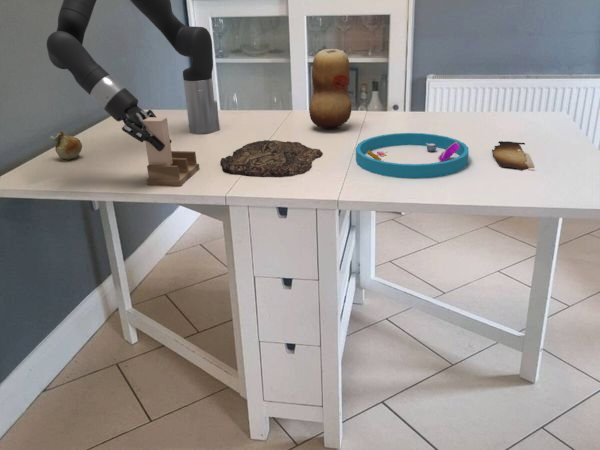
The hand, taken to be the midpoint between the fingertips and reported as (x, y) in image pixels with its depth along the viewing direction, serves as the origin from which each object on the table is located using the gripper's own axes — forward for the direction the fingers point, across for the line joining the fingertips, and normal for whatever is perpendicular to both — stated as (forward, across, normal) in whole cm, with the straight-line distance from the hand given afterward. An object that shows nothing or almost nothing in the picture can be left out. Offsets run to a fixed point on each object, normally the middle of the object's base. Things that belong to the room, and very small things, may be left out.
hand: (165, 146), depth 150 cm
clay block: (+2, 0, +5) cm, 5 cm away
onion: (-20, +16, +34) cm, 43 cm away
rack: (+6, +3, +7) cm, 10 cm away
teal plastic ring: (+50, +23, -36) cm, 66 cm away
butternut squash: (+30, +54, -17) cm, 64 cm away
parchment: (+68, +29, -55) cm, 92 cm away
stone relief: (+23, +20, -9) cm, 32 cm away
